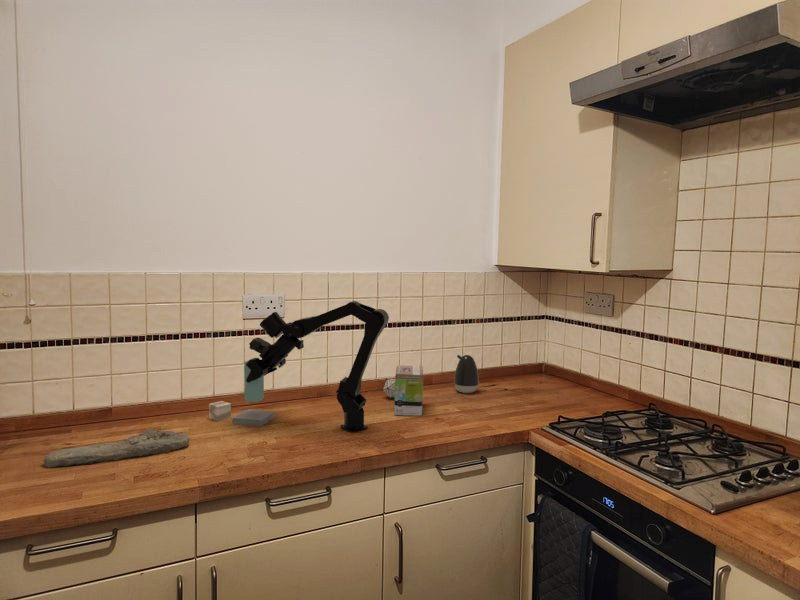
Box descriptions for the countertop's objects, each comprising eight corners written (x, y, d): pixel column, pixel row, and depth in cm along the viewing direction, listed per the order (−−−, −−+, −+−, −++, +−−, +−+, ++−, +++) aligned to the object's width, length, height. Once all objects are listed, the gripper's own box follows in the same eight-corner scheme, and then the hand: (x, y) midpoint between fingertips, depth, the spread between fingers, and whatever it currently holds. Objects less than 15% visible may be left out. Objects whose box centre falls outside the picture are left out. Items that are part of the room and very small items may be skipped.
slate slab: (274, 418, 179) (274, 411, 179) (261, 427, 169) (261, 420, 169) (247, 416, 181) (246, 409, 180) (232, 425, 171) (232, 417, 171)
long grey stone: (47, 464, 141) (42, 480, 132) (45, 445, 140) (40, 460, 131) (188, 437, 157) (192, 450, 148) (186, 420, 156) (190, 432, 147)
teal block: (263, 398, 176) (263, 359, 175) (257, 402, 172) (257, 362, 171) (251, 397, 177) (250, 359, 176) (244, 401, 173) (244, 361, 172)
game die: (397, 408, 204) (405, 391, 198) (376, 400, 203) (384, 383, 198) (402, 392, 211) (410, 375, 205) (382, 384, 211) (389, 367, 205)
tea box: (422, 416, 182) (423, 374, 181) (393, 415, 182) (394, 373, 181) (422, 404, 197) (422, 364, 196) (395, 403, 197) (395, 364, 196)
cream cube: (230, 418, 177) (230, 403, 176) (217, 421, 173) (217, 406, 173) (222, 415, 180) (222, 400, 180) (209, 418, 176) (209, 403, 176)
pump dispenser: (465, 387, 223) (466, 351, 222) (483, 392, 215) (485, 355, 214) (448, 390, 217) (448, 354, 215) (466, 396, 209) (467, 358, 207)
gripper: (277, 326, 181) (247, 356, 184) (251, 334, 163) (219, 367, 166) (298, 350, 180) (268, 380, 183) (275, 360, 162) (243, 394, 165)
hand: (250, 379), depth 174 cm, fingers closed on teal block, 4 cm apart
